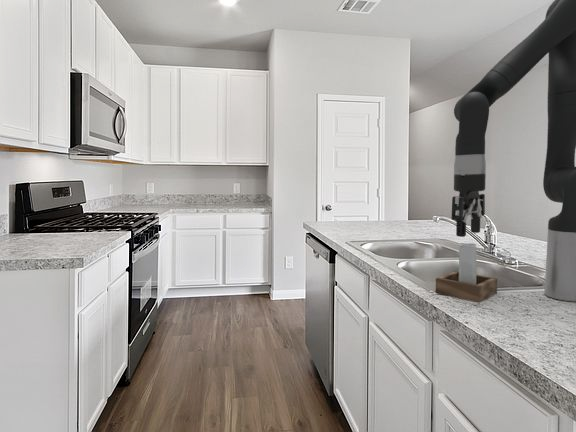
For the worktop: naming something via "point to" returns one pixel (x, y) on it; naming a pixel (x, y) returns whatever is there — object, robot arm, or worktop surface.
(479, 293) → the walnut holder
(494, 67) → the robot arm
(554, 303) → the worktop surface
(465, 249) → the skincare box
